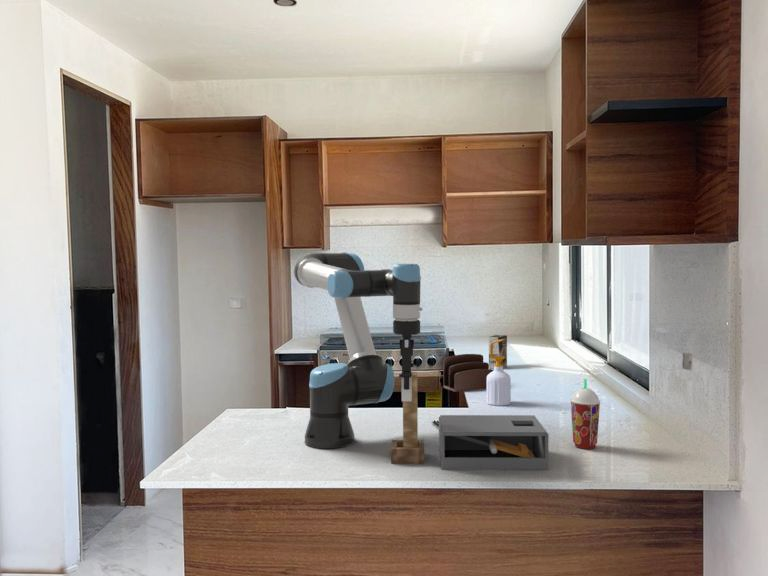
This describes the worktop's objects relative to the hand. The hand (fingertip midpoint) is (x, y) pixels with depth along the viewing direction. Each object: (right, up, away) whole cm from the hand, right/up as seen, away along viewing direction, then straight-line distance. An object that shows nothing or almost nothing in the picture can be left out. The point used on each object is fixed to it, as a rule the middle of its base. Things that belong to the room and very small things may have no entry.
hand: (406, 395), depth 181 cm
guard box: (+23, -18, 0) cm, 29 cm away
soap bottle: (+37, -14, +67) cm, 78 cm away
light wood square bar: (+1, -18, +1) cm, 18 cm away
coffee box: (+51, -10, +145) cm, 154 cm away
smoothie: (+53, -17, +10) cm, 56 cm away
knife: (+13, -17, +29) cm, 36 cm away
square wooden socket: (0, -18, +1) cm, 18 cm away
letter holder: (+30, -13, +97) cm, 102 cm away
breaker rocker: (+23, -13, -1) cm, 27 cm away
